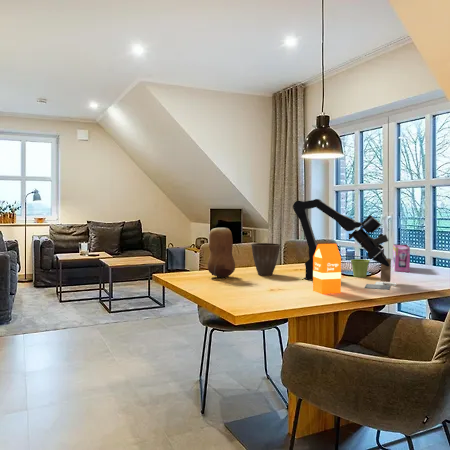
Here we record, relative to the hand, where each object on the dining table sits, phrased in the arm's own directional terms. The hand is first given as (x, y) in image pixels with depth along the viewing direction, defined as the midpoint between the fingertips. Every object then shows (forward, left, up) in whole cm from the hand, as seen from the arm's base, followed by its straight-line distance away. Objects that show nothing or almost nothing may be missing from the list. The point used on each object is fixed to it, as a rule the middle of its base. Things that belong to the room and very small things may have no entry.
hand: (389, 265), depth 200 cm
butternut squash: (-57, +55, -9) cm, 80 cm away
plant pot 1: (-32, +52, -9) cm, 62 cm away
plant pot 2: (+5, +22, -9) cm, 24 cm away
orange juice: (-37, +1, -9) cm, 38 cm away
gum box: (+49, +32, -9) cm, 60 cm away
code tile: (-1, +1, -9) cm, 9 cm away
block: (-1, +1, -7) cm, 7 cm away
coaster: (-11, -3, -9) cm, 14 cm away
